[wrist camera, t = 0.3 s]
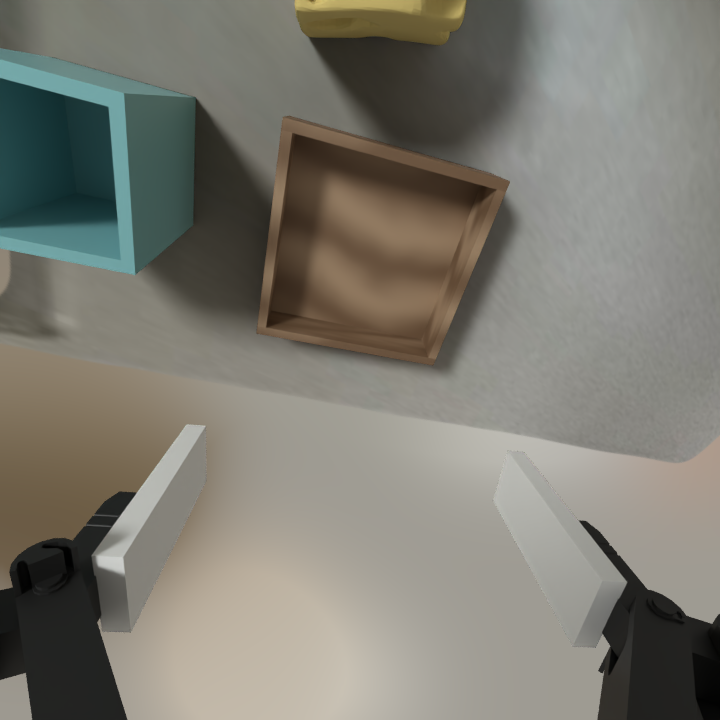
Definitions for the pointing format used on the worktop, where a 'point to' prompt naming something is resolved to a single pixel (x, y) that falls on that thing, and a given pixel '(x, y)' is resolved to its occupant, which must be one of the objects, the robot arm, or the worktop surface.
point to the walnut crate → (370, 243)
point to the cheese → (381, 19)
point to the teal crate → (92, 163)
